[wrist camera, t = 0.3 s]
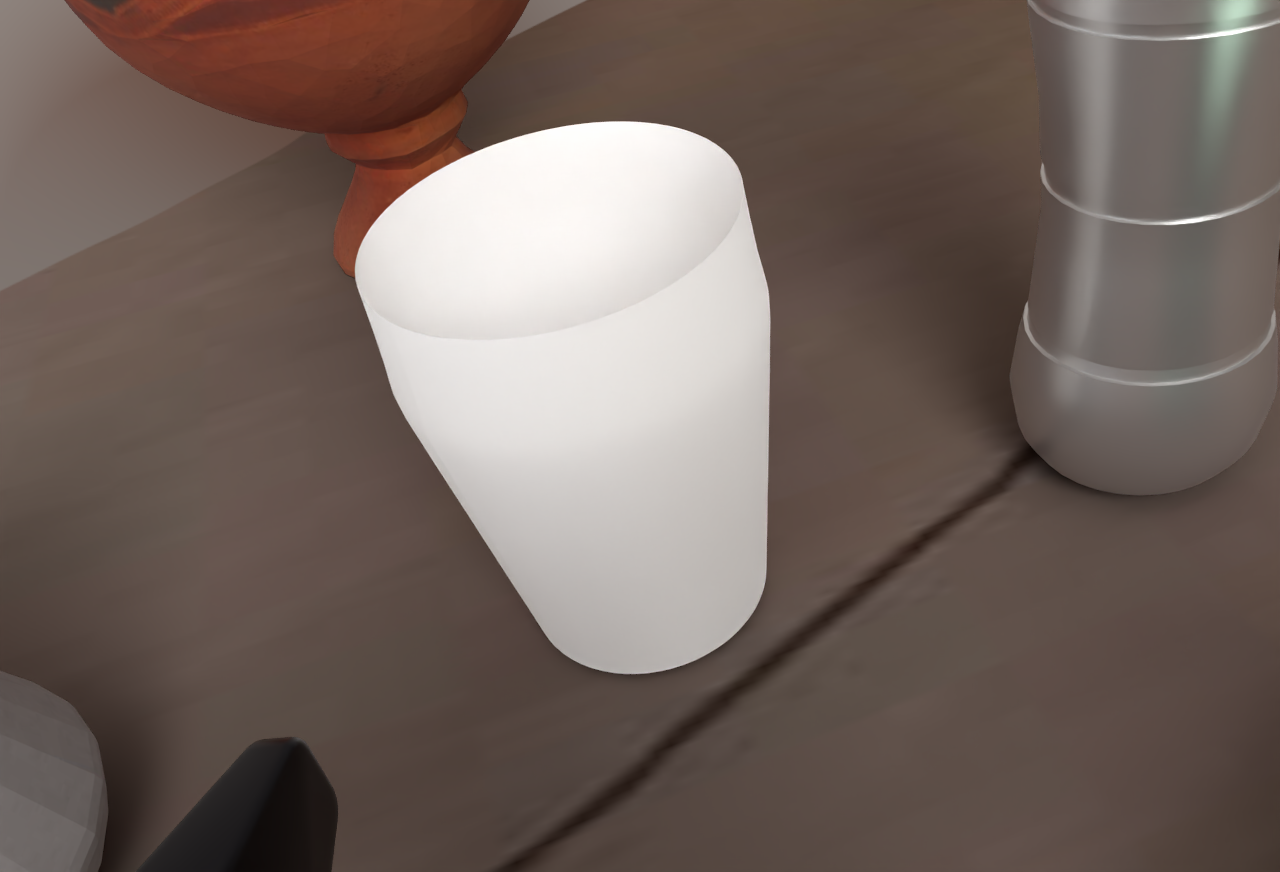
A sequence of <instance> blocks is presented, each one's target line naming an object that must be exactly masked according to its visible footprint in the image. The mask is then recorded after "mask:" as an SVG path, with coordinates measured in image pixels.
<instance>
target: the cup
mask: <svg viewBox="0 0 1280 872" xmlns="http://www.w3.org/2000/svg"><path fill="white" fill-rule="evenodd" d="M355 280H356V283H357V287H358V290H359V293H360V296H361V299H362V302H363V304H364V307H365V310H366V313H367V316H368V318H369V321H370V324H371V327H372V330H373V332H374V335H375V338H376V341H377V344H378V347H379V350H380V353H381V356H382V359H383V362H384V365H385V369H386V372H387V375H388V379H389V382H390V385H391V388H392V392H393V395H394V397H395V399H396V401H397V403H398V405H399V407H400V408H401V410H402V412H403V414H404V416H405V418H406V420H407V421H408V423H409V424H410V426H411V427H412V429H413V431H414V432H415V434H416V435H417V437H418V438H419V440H420V441H421V443H422V445H423V446H424V448H425V449H426V451H427V452H428V454H429V456H430V457H431V459H432V460H433V462H434V463H435V465H436V466H437V468H438V470H439V471H440V473H441V474H442V476H443V477H444V479H445V480H446V482H447V483H448V485H449V487H450V488H451V490H452V491H453V493H454V494H455V496H456V497H457V499H458V500H459V502H460V504H461V505H462V507H463V508H464V510H465V511H466V513H467V514H468V516H469V517H470V519H471V521H472V522H473V524H474V525H475V527H476V528H477V530H478V531H479V533H480V534H481V536H482V538H483V539H484V541H485V542H486V544H487V545H488V547H489V548H490V550H491V551H492V553H493V555H494V556H495V558H496V559H497V561H498V562H499V564H500V565H501V567H502V568H503V570H504V571H505V573H506V575H507V576H508V578H509V579H510V581H511V582H512V584H513V585H514V587H515V588H516V590H517V592H518V593H519V595H520V596H521V598H522V599H523V601H524V602H525V604H526V605H527V607H528V609H529V610H530V612H531V613H532V615H533V616H534V618H535V619H536V621H537V622H538V624H539V626H540V627H541V629H542V630H543V632H544V633H545V635H546V636H547V637H548V639H549V640H550V641H551V643H552V644H553V645H554V646H555V647H556V648H557V649H558V650H560V651H561V652H562V653H563V654H565V655H566V656H568V657H569V658H571V659H572V660H574V661H576V662H578V663H580V664H582V665H585V666H588V667H590V668H593V669H597V670H600V671H606V672H611V673H620V674H643V673H652V672H659V671H664V670H668V669H672V668H675V667H679V666H682V665H685V664H687V663H690V662H692V661H695V660H697V659H699V658H701V657H703V656H705V655H707V654H708V653H710V652H712V651H713V650H715V649H717V648H718V647H720V646H721V645H722V644H724V643H725V642H726V641H728V640H729V639H730V638H731V637H732V636H733V635H735V634H736V633H737V632H738V631H739V630H740V628H741V627H742V626H743V625H744V624H745V623H746V622H747V620H748V619H749V618H750V616H751V615H752V613H753V612H754V610H755V608H756V606H757V604H758V602H759V600H760V598H761V595H762V593H763V589H764V585H765V580H766V563H767V504H768V444H769V383H770V304H769V292H768V287H767V282H766V279H765V275H764V272H763V268H762V265H761V261H760V257H759V254H758V250H757V246H756V242H755V237H754V233H753V228H752V224H751V220H750V215H749V210H748V205H747V200H746V196H745V191H744V186H743V181H742V176H741V174H740V171H739V169H738V167H737V165H736V164H735V162H734V161H733V159H732V158H731V157H730V156H729V155H728V154H727V153H726V152H725V151H724V150H723V149H722V148H720V147H719V146H718V145H716V144H715V143H713V142H711V141H710V140H708V139H706V138H704V137H702V136H700V135H697V134H695V133H692V132H689V131H686V130H683V129H679V128H675V127H671V126H666V125H660V124H653V123H643V122H597V123H586V124H577V125H570V126H564V127H558V128H553V129H548V130H543V131H539V132H535V133H531V134H527V135H523V136H520V137H516V138H513V139H510V140H507V141H504V142H501V143H498V144H495V145H492V146H490V147H487V148H484V149H482V150H479V151H477V152H474V153H472V154H470V155H468V156H465V157H463V158H461V159H459V160H457V161H455V162H453V163H451V164H449V165H447V166H445V167H443V168H442V169H440V170H438V171H436V172H434V173H433V174H431V175H430V176H428V177H426V178H425V179H423V180H422V181H420V182H419V183H417V184H416V185H414V186H413V187H412V188H410V189H409V190H408V191H406V192H405V193H404V194H403V195H401V196H400V197H399V198H398V199H396V200H395V201H394V202H393V203H392V204H391V205H390V206H389V207H388V208H387V209H386V210H385V211H384V212H383V213H382V214H381V215H380V216H379V218H378V219H377V220H376V221H375V222H374V224H373V225H372V226H371V228H370V229H369V231H368V232H367V234H366V236H365V237H364V239H363V241H362V243H361V246H360V248H359V250H358V254H357V258H356V263H355Z"/></svg>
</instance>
